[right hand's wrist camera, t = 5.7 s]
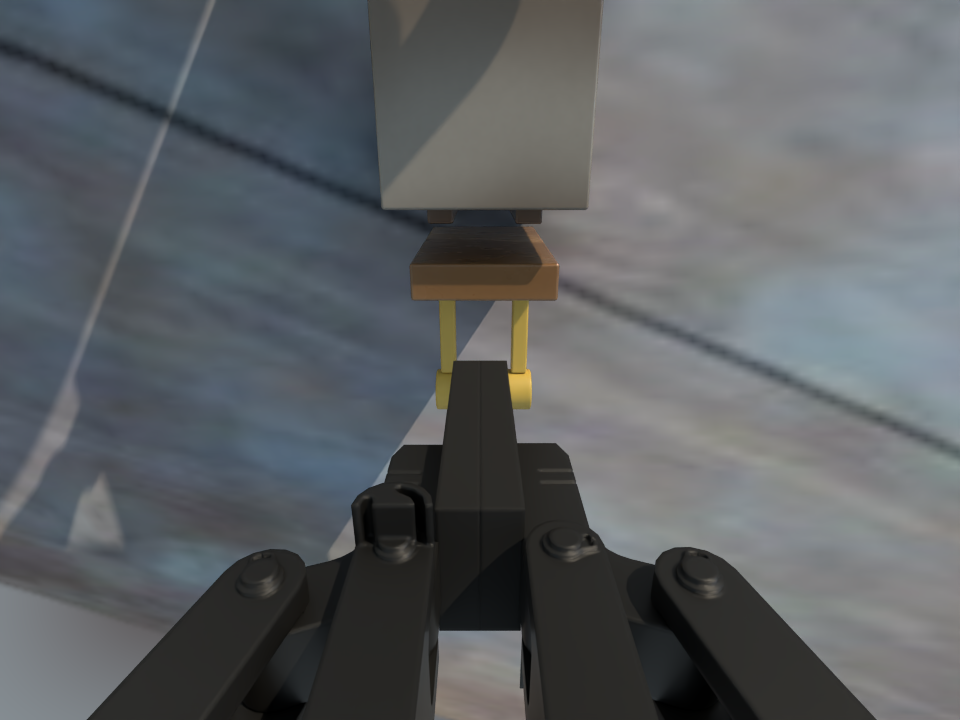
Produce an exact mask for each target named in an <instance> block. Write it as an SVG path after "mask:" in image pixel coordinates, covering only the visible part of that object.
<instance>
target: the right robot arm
mask: <svg viewBox="0 0 960 720" xmlns="http://www.w3.org/2000/svg"><path fill="white" fill-rule="evenodd" d="M351 508H352V517H353V526H354V535H355V544H356V546H355V550H353V551H352V552H350V553H348V554H346V555H344V556H343V557H340V558H337V559H334V560H331V561H328V562H324V563H320V564H315V565H311V566H307V567H305V563H304V561H303V560H302V559H301V558H300V557H299V555H298V554H295V553H293V552H290V551H288V550H280V549H269V550H265V551H260V552H256V553H253V554H251V555H249V556H247V557H245V558H242V559H240V560H238V561H237V562H236V563H234V564H233V565H232V566H231V567H230V568H228V569H227V570H226V571H225V572H224V573H223V574H222V575H221V576H220V577H219V578H218V579H217V580H216V581H215V582H214V583H213V585H212V586H211V587H210V588H209V589H208V590H207V591H206V592H205V593H204V594H203V595H202V596H201V597H200V599H199V600H198V601H197V602H196V603H195V604H194V605H193V606H192V607H191V608H190V609H189V610H188V611H187V613H186V614H185V615H184V616H183V617H182V618H181V619H180V620H179V621H178V622H177V623H176V624H175V625H174V627H173V628H172V629H171V630H170V631H169V632H168V633H167V634H166V635H165V636H164V637H163V638H162V639H161V641H160V642H159V643H158V644H157V645H156V646H155V647H154V648H153V649H152V650H151V651H150V652H149V653H148V654H147V656H146V657H145V658H144V659H143V660H142V661H141V662H140V663H139V664H138V665H137V666H136V667H135V668H134V670H133V671H132V672H131V673H130V674H129V675H128V676H127V677H126V678H125V679H124V680H123V681H122V682H121V684H120V685H119V686H118V687H117V688H116V689H115V690H114V691H113V692H112V693H111V694H110V695H109V696H108V698H107V699H106V700H105V701H104V702H103V703H102V704H101V705H100V706H99V707H98V708H97V709H96V710H95V711H94V713H93V714H92V715H91V716H90V717H89V718H88V719H87V720H434V714H435V701H436V689H437V676H438V663H439V649H438V632H439V631H521V629H522V649H521V673H520V688H524V701H525V714H526V720H876V719H875V718H874V716H873V715H872V714H871V713H870V712H869V711H868V710H867V709H866V708H865V707H864V706H863V705H862V704H861V703H860V701H859V700H858V699H857V698H856V697H855V696H854V695H853V694H852V693H851V692H850V691H849V690H848V689H847V688H846V687H845V685H844V684H843V683H842V682H841V681H840V680H839V679H838V678H837V677H836V676H835V675H834V674H833V673H832V672H831V670H830V669H829V668H828V667H827V666H826V665H825V664H824V663H823V662H822V661H821V660H820V659H819V658H818V657H817V656H816V654H815V653H814V652H813V651H812V650H811V649H810V648H809V647H808V646H807V645H806V644H805V643H804V642H803V641H802V639H801V638H800V637H799V636H798V635H797V634H796V633H795V632H794V631H793V630H792V629H791V628H790V627H789V626H788V625H787V623H786V622H785V621H784V620H783V619H782V618H781V617H780V616H779V615H778V614H777V613H776V612H775V611H774V610H773V608H772V607H771V606H770V605H769V604H768V603H767V602H766V601H765V600H764V599H763V598H762V597H761V596H760V595H759V594H758V592H757V591H756V590H755V589H754V588H753V587H752V586H751V585H750V584H749V583H748V582H747V581H746V580H745V579H744V577H743V576H742V575H741V574H740V573H739V572H738V571H737V570H736V569H735V568H734V567H732V566H731V565H730V564H729V563H727V562H726V561H725V560H724V559H722V558H720V557H718V556H716V555H714V554H712V553H710V552H708V551H705V550H700V549H696V548H692V547H677V548H672V549H670V550H667V551H665V552H663V553H662V554H661V555H660V556H659V557H658V559H657V560H656V563H655V565H653V564H649V563H645V562H641V561H636V560H632V559H629V558H626V557H623V556H620V555H618V554H616V553H614V552H612V551H610V550H608V549H607V548H605V546H604V544H603V542H602V540H601V539H600V537H599V535H598V534H596V533H595V532H594V531H593V530H591V529H590V528H589V525H588V521H587V518H586V514H585V511H584V507H583V504H582V501H581V497H580V494H579V490H578V487H577V484H576V480H575V476H574V473H573V471H572V466H571V463H570V459H569V456H568V455H567V454H566V453H565V452H564V451H563V450H562V449H561V448H560V447H559V446H558V445H557V444H556V443H517V439H516V431H515V424H514V416H513V408H512V400H511V392H510V384H509V376H508V368H507V361H453V368H452V376H451V384H450V392H449V400H448V408H447V416H446V424H445V431H444V439H443V445H403V446H402V447H401V448H400V449H399V450H398V451H397V452H396V453H395V454H394V455H393V456H392V458H391V461H390V465H389V468H388V474H387V475H386V479H385V482H384V483H381V484H379V485H376V486H373V487H370V488H368V489H367V490H365V491H364V492H362V493H361V494H359V495H358V496H357V497H356V499H355V500H354V502H353V503H352V505H351Z"/></svg>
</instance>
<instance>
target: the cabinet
mask: <svg viewBox="0 0 960 720" xmlns="http://www.w3.org/2000/svg"><path fill="white" fill-rule="evenodd" d="M602 14H603V0H368V15H369V29H370V44H371V59H372V74H373V89H374V104H375V118H376V133H377V148H378V163H379V178H380V193H381V207H382V209H384V210H586V209H587V208H588V203H589V190H590V176H591V163H592V149H593V136H594V122H595V109H596V95H597V81H598V68H599V54H600V41H601V27H602Z"/></svg>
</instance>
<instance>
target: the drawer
mask: <svg viewBox="0 0 960 720" xmlns="http://www.w3.org/2000/svg"><path fill="white" fill-rule="evenodd" d="M457 211H458V210H427V221H428V223H430V224H451V223H453V221H454V218H455V216H456V214H457ZM510 212H511V214H512V216H513V218H514V220H515V222H516V223H517V224H540V223H541V222H542V210H510ZM558 281H559V264H558V263H557V261H556V260H555V258H554V257H553V255H552V254H551V252H550V251H549V250H548V248H547V247H546V245H545V244H544V242H543V241H542V239H541V238H540V236H539V235H538V234H537V232H536V231H535V229H534V228H533V227H434V228H433V229H432V231H431V232H430V234H429V236H428V237H427V239H426V240H425V242H424V243H423V245H422V247H421V248H420V250H419V251H418V253H417V254H416V256H415V258H414V259H413V261H412V262H411V264H410V284H411V299H412V300H414V301H439V315H440V348H441V369H438V370H437V374H436V406H437V409H447V408H448V400H449V392H450V384H451V376H452V368H453V361H457V357H456V301H512V328H511V369H508V376H509V384H510V392H511V400H512V408H513V409H530V407H531V398H532V382H531V372H530V370H529V369H526V362H527V334H528V306H529V301H555V300H557V298H558Z"/></svg>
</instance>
